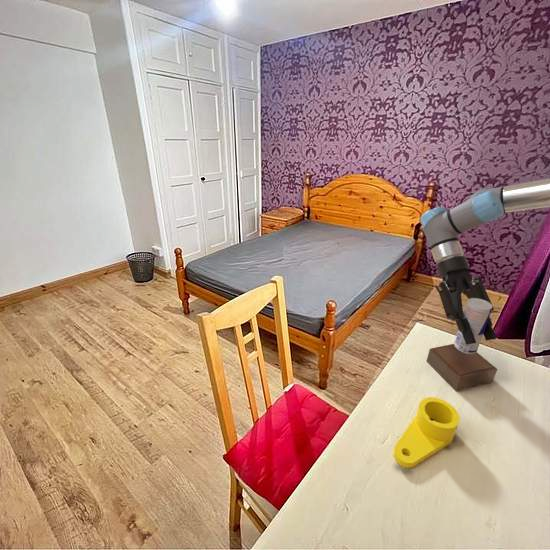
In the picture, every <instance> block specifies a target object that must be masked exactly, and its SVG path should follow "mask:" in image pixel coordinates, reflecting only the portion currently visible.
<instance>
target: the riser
mask: <svg viewBox="0 0 550 550" xmlns="http://www.w3.org/2000/svg"><path fill="white" fill-rule="evenodd" d="M426 363H428V365H430V367H431V368H432V369H433V370H434V371H435V372H436V373H437V374H438V375H439V376H440V377H441V378H442V379H443V380H444V381H445V382H446V383H447V384H448V385H449V386H450V387H451V388H452V390H454V391H455V392H459V391H463V390H466V389H471V388H475V387H479V386H483V385H488V384H491V383H492V384H493V382H494V380H495V377H496V374H497V372H498V368H497V367H496V366H494V365H493V364H492V363H491V362H490V361H488V360H487V359H486V358H485V357H483V355H481V354H480V353H478V351H477V352H476V353H473V354H467V353H463V352H461V351H459V350H458V349H457V348H456V347H455V345H454V343H450V344H446V345H441V346H436V347H431V348H429V350H428V354H427V358H426Z"/></svg>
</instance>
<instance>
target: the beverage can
mask: <svg viewBox="0 0 550 550" xmlns="http://www.w3.org/2000/svg"><path fill="white" fill-rule="evenodd" d="M492 306H493V304H492V305H491V304H490V303H489V302H487V301H485V300H482V299H478V298H470V299H468V298H467V301H466V303H465V307H464V310H463V316H464V318H463V319H465V318H467V320H468V322H469V325H470V327H471V330H472V333H473V335H474V338H475V341H476V343H474V344H467V345H466V343H465V340H464V337H463V335H462V332H460V331H459V329H458V330H457V333H456V337H455V339H454V342H453V344H454V345H455V347H456V348H457V349H458V350H459V351H461V352H463V353H467V354H473V353H476V352H477V353H478V350H479V346H480V343H481V341H482V338H483V337H484V334H483V333H484V330H485V327H486V324H487V322H488V319H489V317H490V316H491V314H492V311H491V310H492Z"/></svg>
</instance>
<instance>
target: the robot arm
mask: <svg viewBox="0 0 550 550" xmlns="http://www.w3.org/2000/svg"><path fill="white" fill-rule="evenodd" d="M543 208H550V177H547V178H542V179H536V180H531V181H526V182H519V183H515V184H509V185H504V186H498V187H483V188H481V189H477V190H476V191H475V192H474V193H472V195H471V196H470V197H469V198H468V199H467V200H465V201H464V202H462V203H459V204H458V205H456V206H454V207H452V208H450V209H447V208H446V207H444V206H437V207H434V208H431V209H429V210H427V211H425V212H424V213H423V214H422V215H421V216H420V224H421V226H422V227H421V228H422V232H423V234H424V236H425V238H426V241H427V243H428V246H429V249H430V252H431V255H432V257H433V260H434V262H435V263H436V268H437V271H438V274H439V276H440V277H442V280H441V281H440V282H437V283H436V284H435V285H434V288H435V289H436V291H437V292H438V294H439V297H440V301H441V305H442V307H443V310H444V314H445V317H446V319H447V320H451V321H452V322H455V323H456V326H457V329H458V330H459V331H460V332H462V335H463V337H464V340H465V343H466V345H467V344H474V343H476V341H475V338H474V335H473V333H472V330H471V327H470V325H469V322H468V320H467V318H465V319H463V318H464V316H463V313H464V310H463V309H464V307H463V300H462V294H463V295H464V296H465V297H466V298H467V300H468V299H470V298H478V299H482V300H485V301H487V302H489V303H490V304H491V305H492V310H491V312H493V311H494V308H495V307H494V305H493V303H492V301H491V299H490V297H489V295H488V293H487V290H486V288H485V285H484V281H483V277H482V276H480V275H479V276H473V275H472V274H471V273H470V264H469V262H468V260H467V258H466V256H464V255H465V252H464V249H463V246H462V245H461V242H460V239H459V238H458V236H459V235H461V234H464V233H466V232H468V231H470V230H473V229H475V228H478V227H480V226H482V225H483V226H484V225H485V224H488V223H491V222H493V221H494V220H496V219H498V218H501V217H502V216H503V215H504V214H506V213H507V214H508V213H515V212H522V211H527V210H528V211H529V210H536V209H537V210H538V209H543ZM496 336H497V335H496V334H495V331H494V329H493V322H492V320H491V317H490V316H489V319H488V322H487V324H486V327H485V330H484V333H483V337H484V339H485V341H492V340H497V337H496Z"/></svg>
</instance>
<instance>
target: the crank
mask: <svg viewBox="0 0 550 550" xmlns="http://www.w3.org/2000/svg"><path fill="white" fill-rule="evenodd" d="M459 423H460V415H459V412H458V410H456V408H455V407H454V406H453V405H451V403H449V402H447V401H446V400H444V399H442V398H438V397H431V396H430V397H424V398H423V399H422V400H420V402H419V404H418V408H417V411H416V414H415V417H414V418H413V419H412V421H411V422H410V423H409V424H408V426H407V428H406V429H405V430H404V432H403V434H401V437H400V438H399V440H397V442H396V444H395V445H394V447H393V452H392V454H393V458H394V461H395V462H396V463H397V464H398V465H400V467H403V468H406V469H412V468H414V467H415V466H417V465H419V464H421V463H422V462H423V461H425V460H426V459H428V458H429V457H431V456H433V455H434V454H436V453H438V452H439V451H440V450H442V449H444V448H445V447H447V446H449V445H450V444H451V443H452V442H453V440H454V437H455V434H456V432H457V429H458V426H459Z"/></svg>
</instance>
